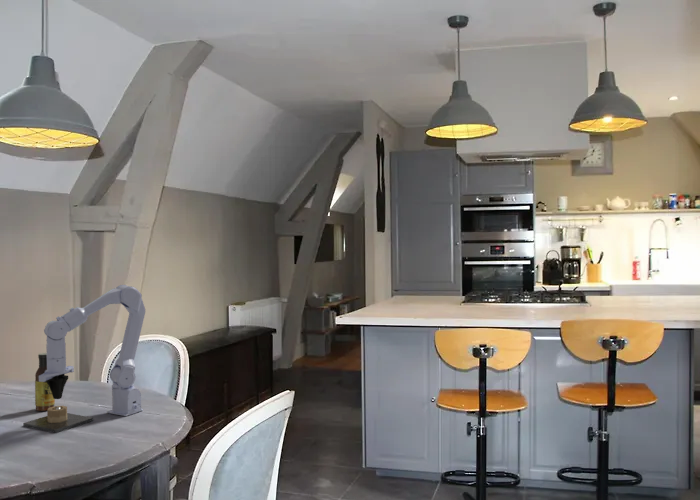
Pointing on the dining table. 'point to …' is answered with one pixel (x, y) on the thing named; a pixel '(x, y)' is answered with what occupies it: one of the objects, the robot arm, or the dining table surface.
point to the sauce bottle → (42, 387)
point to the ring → (57, 414)
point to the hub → (57, 427)
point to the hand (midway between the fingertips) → (57, 398)
